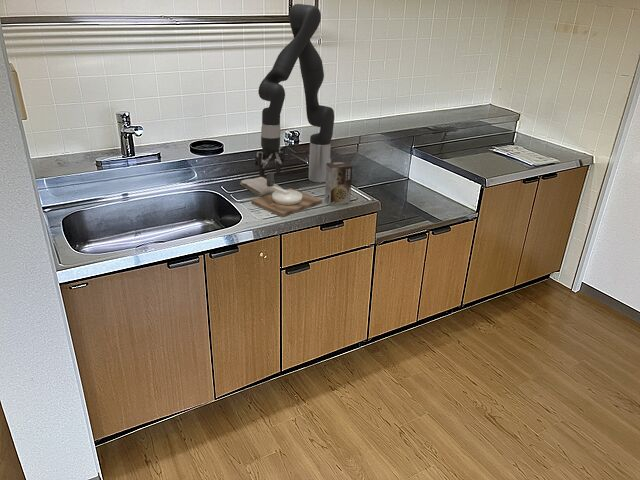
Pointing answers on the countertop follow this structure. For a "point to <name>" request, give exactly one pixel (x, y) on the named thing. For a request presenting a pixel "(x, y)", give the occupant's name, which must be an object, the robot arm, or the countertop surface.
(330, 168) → the coffee box
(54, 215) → the countertop surface
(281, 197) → the dial
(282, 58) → the robot arm
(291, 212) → the dial board
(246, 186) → the washcloth
